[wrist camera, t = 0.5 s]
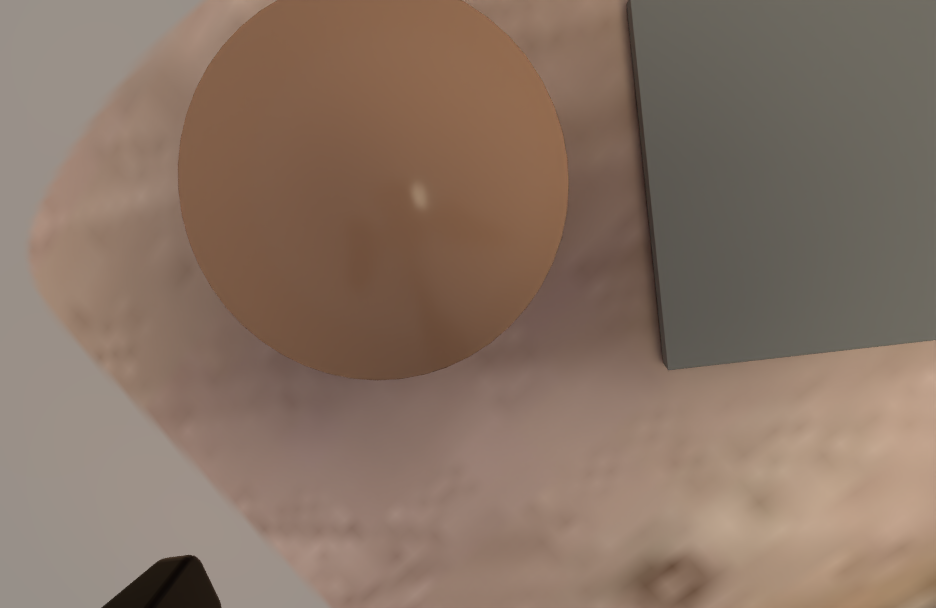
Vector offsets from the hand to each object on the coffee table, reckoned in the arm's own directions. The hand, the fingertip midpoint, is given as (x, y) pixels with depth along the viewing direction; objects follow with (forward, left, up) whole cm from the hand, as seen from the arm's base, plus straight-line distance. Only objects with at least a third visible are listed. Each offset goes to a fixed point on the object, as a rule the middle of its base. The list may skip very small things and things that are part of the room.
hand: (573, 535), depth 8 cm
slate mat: (+3, -9, -15) cm, 17 cm away
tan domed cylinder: (+4, +2, -15) cm, 15 cm away
